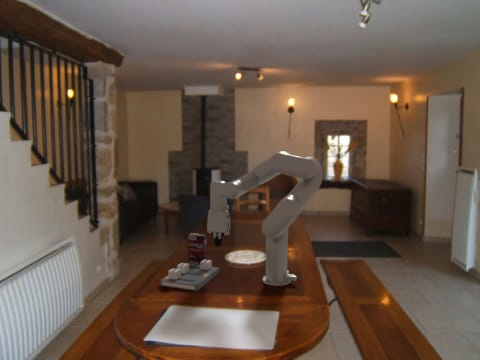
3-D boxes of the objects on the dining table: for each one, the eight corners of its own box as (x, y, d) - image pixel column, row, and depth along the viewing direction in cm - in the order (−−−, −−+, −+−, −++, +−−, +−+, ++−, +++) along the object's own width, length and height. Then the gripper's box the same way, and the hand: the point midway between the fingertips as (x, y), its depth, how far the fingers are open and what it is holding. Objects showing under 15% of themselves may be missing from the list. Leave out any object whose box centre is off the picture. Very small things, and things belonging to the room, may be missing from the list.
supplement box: (188, 265, 209) (187, 235, 207) (191, 262, 213) (190, 232, 211) (204, 266, 207) (204, 235, 205) (207, 263, 212) (206, 233, 210)
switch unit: (219, 272, 198) (219, 267, 198) (196, 291, 176) (196, 285, 176) (186, 268, 205) (185, 263, 204) (160, 285, 182) (160, 280, 182)
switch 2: (189, 270, 193) (188, 263, 192) (185, 273, 189) (184, 265, 188) (181, 269, 194) (181, 262, 193) (177, 272, 190) (177, 264, 190)
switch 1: (180, 276, 185) (180, 268, 185) (176, 279, 181) (176, 271, 181) (173, 275, 186) (172, 267, 186) (168, 278, 183) (168, 270, 182)
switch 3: (211, 267, 197) (211, 259, 197) (208, 270, 193) (208, 262, 193) (204, 266, 199) (204, 258, 198) (200, 269, 195) (200, 261, 194)
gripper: (236, 207, 191) (236, 245, 193) (207, 204, 196) (207, 242, 198) (230, 210, 184) (230, 250, 186) (200, 207, 189) (200, 246, 191)
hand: (218, 246), depth 192 cm, fingers closed
